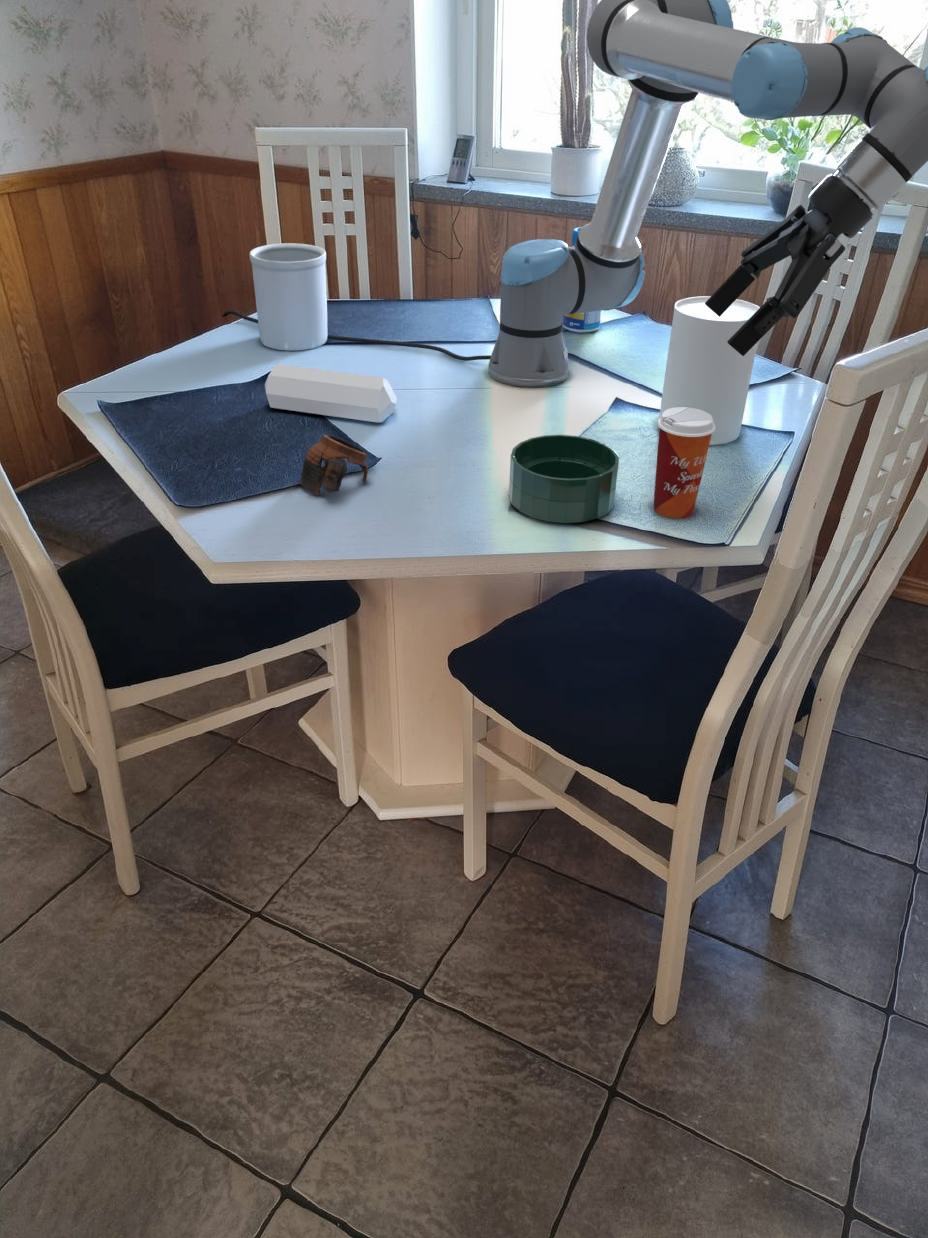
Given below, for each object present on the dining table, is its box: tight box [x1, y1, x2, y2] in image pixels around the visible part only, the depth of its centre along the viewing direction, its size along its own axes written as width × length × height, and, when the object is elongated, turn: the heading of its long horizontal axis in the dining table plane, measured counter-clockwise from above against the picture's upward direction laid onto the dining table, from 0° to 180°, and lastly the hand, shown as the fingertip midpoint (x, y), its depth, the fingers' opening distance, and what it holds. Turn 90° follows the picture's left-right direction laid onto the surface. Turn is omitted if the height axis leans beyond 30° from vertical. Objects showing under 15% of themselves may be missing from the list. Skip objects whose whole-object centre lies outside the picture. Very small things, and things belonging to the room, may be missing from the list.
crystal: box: [264, 363, 397, 423], centre depth 161 cm, size 7×7×24 cm
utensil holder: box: [249, 242, 328, 352], centre depth 188 cm, size 15×15×18 cm
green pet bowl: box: [508, 434, 620, 524], centre depth 133 cm, size 15×15×7 cm
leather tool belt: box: [299, 433, 369, 496], centre depth 136 cm, size 12×10×8 cm
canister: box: [657, 295, 761, 446], centre depth 152 cm, size 14×14×20 cm
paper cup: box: [653, 407, 715, 519], centre depth 129 cm, size 8×8×14 cm
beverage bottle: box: [562, 226, 602, 334], centre depth 197 cm, size 8×8×20 cm
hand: (722, 328), depth 123 cm, fingers open, 13 cm apart
